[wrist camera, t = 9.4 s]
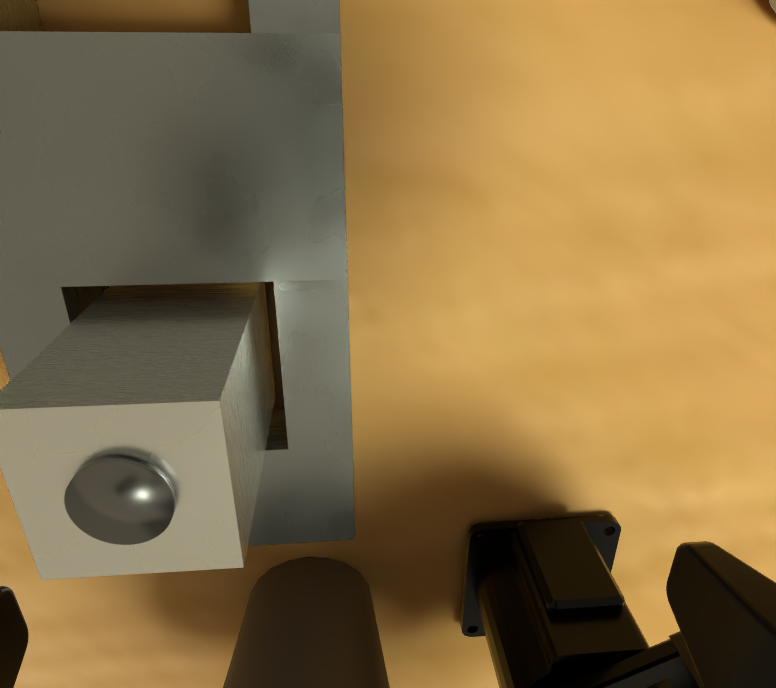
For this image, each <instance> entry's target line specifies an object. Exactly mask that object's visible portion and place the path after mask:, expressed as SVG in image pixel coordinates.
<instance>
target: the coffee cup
mask: <svg viewBox="0 0 776 688" xmlns="http://www.w3.org/2000/svg"><path fill="white" fill-rule="evenodd" d="M223 688H390V687H389V682H388V677H387V672H386V667H385V662H384V658H383V653H382V648H381V643H380V638H379V633H378V628H377V623H376V618H375V613H374V608H373V603H372V598H371V594H370V589H369V585H368V584H367V582H366V581H365V580H364V578H363V577H362V576H361V574H360V573H359V572H357V571H356V570H354V569H352V568H351V567H349V566H348V565H346V564H344V563H341V562H338V561H334V560H331V559H327V558H311V557H308V558H302V559H296V560H290V561H287V562H285V563H283V564H281V565H278V566H276V567H274V568H272V569H270V570H269V571H268V572H267V573H266V574H265V575H263V576H262V577H261V578H260V579H259V580H258V582H257V584H256V585H255V587H254V589H253V591H252V593H251V596H250V599H249V603H248V606H247V609H246V613H245V616H244V619H243V623H242V626H241V629H240V633H239V636H238V640H237V643H236V646H235V650H234V653H233V656H232V660H231V663H230V666H229V670H228V673H227V676H226V680H225V683H224V686H223Z"/></svg>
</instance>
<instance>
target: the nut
mask: <svg viewBox="0 0 776 688" xmlns="http://www.w3.org/2000/svg"><path fill="white" fill-rule="evenodd" d="M275 395H276V394H275V383H274V373H273V362H272V352H271V342H270V331H269V321H268V310H267V300H266V289H265V282H237V283H197V284H158V285H118V286H109V287H108V288H107V289H106V290H105V291H104V292H103V293H102V294H101V295H100V296H98V297H97V298H96V299H95V300H94V301H93V302H92V303H91V304H90V305H89V306H88V307H87V308H86V309H85V310H84V311H83V312H82V313H81V314H80V315H79V316H78V317H77V318H76V319H75V320H73V321H72V322H71V323H70V324H69V325H68V326H67V327H66V328H65V329H64V330H63V331H62V332H61V333H60V334H59V335H58V336H57V337H56V338H55V339H54V340H53V341H52V342H51V343H50V344H49V345H47V346H46V347H45V348H44V349H43V350H42V351H41V352H40V353H39V354H38V355H37V356H36V357H35V358H34V359H33V360H32V361H31V362H30V363H29V364H28V365H27V366H26V367H25V368H24V369H22V370H21V371H20V372H19V373H18V374H17V375H16V376H15V377H14V378H13V379H12V380H11V381H10V382H9V383H8V384H7V385H6V386H5V387H4V388H3V389H2V390H1V391H0V467H1V470H2V473H3V476H4V478H5V481H6V484H7V487H8V489H9V492H10V495H11V498H12V501H13V503H14V506H15V509H16V512H17V514H18V517H19V520H20V523H21V526H22V528H23V531H24V534H25V537H26V539H27V542H28V545H29V548H30V550H31V553H32V556H33V559H34V562H35V564H36V567H37V570H38V573H39V575H40V578H41V580H49V579H65V578H81V577H98V576H114V575H130V574H146V573H163V572H179V571H195V570H211V569H227V568H244V563H245V558H246V552H247V547H248V541H249V536H250V531H251V525H252V520H253V514H254V509H255V503H256V498H257V493H258V487H259V482H260V476H261V471H262V465H263V460H264V455H265V449H266V444H267V438H268V433H269V427H270V422H271V417H272V411H273V406H274V400H275Z"/></svg>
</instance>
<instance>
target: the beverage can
mask: <svg viewBox="0 0 776 688" xmlns="http://www.w3.org/2000/svg"><path fill="white" fill-rule="evenodd" d="M768 1H769V3H770V5H771V7H772V8H773V10H774V11H775V12H776V0H768Z"/></svg>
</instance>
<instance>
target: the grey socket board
mask: <svg viewBox="0 0 776 688" xmlns="http://www.w3.org/2000/svg"><path fill="white" fill-rule="evenodd" d="M248 3H249V14H250V25H251V33H180V32H43V30H42V26H41V22H40V17H39V13H38V8H37V4H36V0H0V350H1V353H2V356H3V359H4V362H5V365H6V368H7V371H8V374H9V377H10V380H12V379H13V378H14V377H15V376H16V375H17V374H18V373H19V372H20V371H21V370H22V369H24V368H25V367H26V366H27V365H28V364H29V363H30V362H31V361H32V360H33V359H34V358H35V357H36V356H37V355H38V354H39V353H40V352H41V351H42V350H43V349H44V348H45V347H46V346H47V345H49V344H50V343H51V342H52V341H53V340H54V339H55V338H56V337H57V336H58V335H59V334H60V333H61V332H62V331H63V330H64V329H65V328H66V327H67V326H68V325H69V324H70V323H71V322H72V321H73V320H75V319H76V318H77V317H78V316H79V315H80V314H81V313H82V312H83V311H84V310H85V309H86V308H87V307H88V306H89V305H90V304H91V303H92V302H93V301H94V300H95V299H96V298H97V297H98V296H100V295H101V294H102V289H101V286H118V285H158V284H197V283H237V282H273V283H274V294H275V305H276V316H277V328H278V339H279V350H280V361H281V372H282V384H283V395H284V406H285V409H273V411H272V417H271V422H270V427H269V433H268V438H267V444H266V449H265V455H264V460H263V465H262V471H261V476H260V482H259V487H258V493H257V498H256V503H255V509H254V514H253V520H252V525H251V531H250V536H249V541H248V546H257V545H274V544H290V543H307V542H324V541H340V540H355V513H354V479H353V445H352V412H351V378H350V345H349V311H348V278H347V244H346V211H345V177H344V144H343V110H342V77H341V43H340V10H339V0H248Z"/></svg>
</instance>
